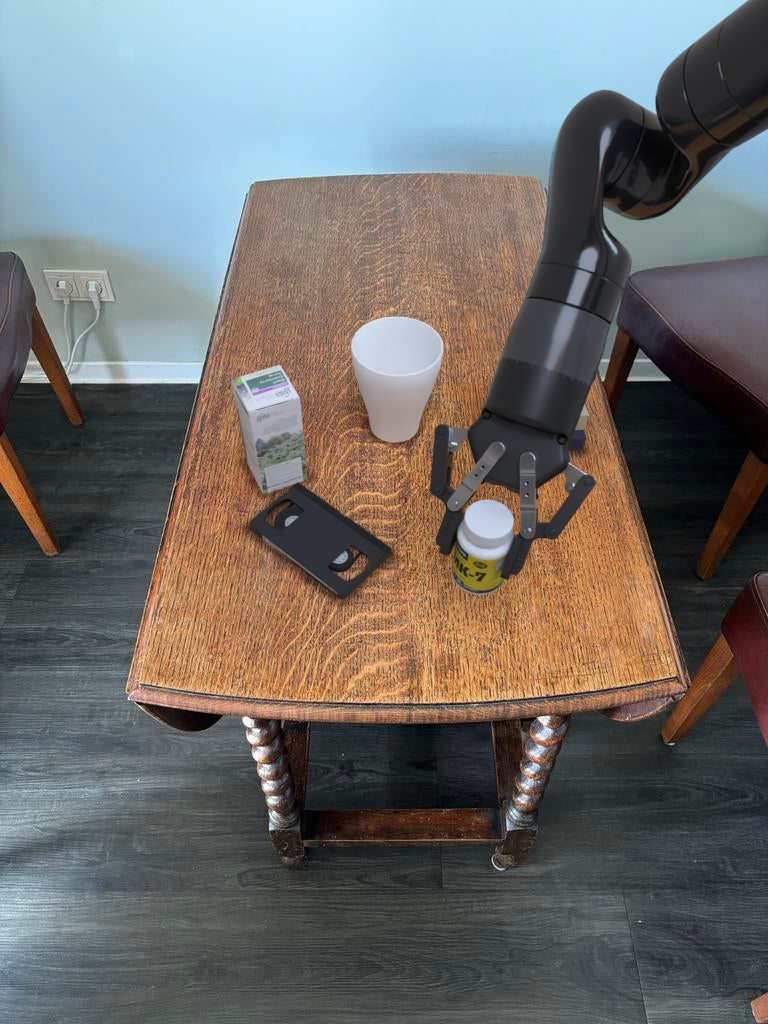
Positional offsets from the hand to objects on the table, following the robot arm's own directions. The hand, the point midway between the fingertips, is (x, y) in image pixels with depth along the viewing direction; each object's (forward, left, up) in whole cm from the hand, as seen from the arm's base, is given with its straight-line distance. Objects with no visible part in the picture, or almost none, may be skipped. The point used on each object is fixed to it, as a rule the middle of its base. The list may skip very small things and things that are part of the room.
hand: (475, 564), depth 60 cm
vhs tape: (+19, -4, -16) cm, 25 cm away
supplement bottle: (0, -2, -4) cm, 5 cm away
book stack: (+6, -35, -16) cm, 39 cm away
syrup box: (+29, -10, -16) cm, 35 cm away
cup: (+21, -24, -16) cm, 36 cm away
